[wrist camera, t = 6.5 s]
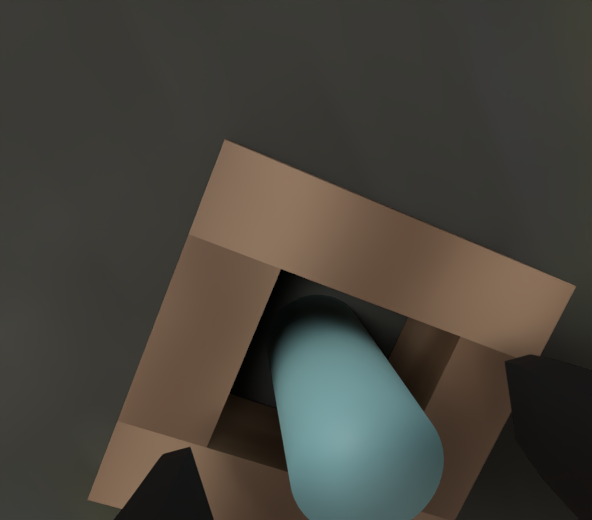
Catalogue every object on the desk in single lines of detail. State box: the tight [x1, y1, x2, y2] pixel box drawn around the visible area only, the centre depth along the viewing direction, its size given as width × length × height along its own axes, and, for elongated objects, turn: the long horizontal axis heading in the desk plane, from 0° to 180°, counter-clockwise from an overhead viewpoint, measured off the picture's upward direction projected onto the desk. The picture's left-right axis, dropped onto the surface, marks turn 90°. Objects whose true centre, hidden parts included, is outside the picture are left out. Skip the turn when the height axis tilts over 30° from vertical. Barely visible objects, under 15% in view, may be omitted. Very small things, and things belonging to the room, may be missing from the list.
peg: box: [266, 295, 444, 520], centre depth 14 cm, size 3×3×7 cm
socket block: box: [88, 139, 576, 520], centre depth 16 cm, size 10×10×4 cm
